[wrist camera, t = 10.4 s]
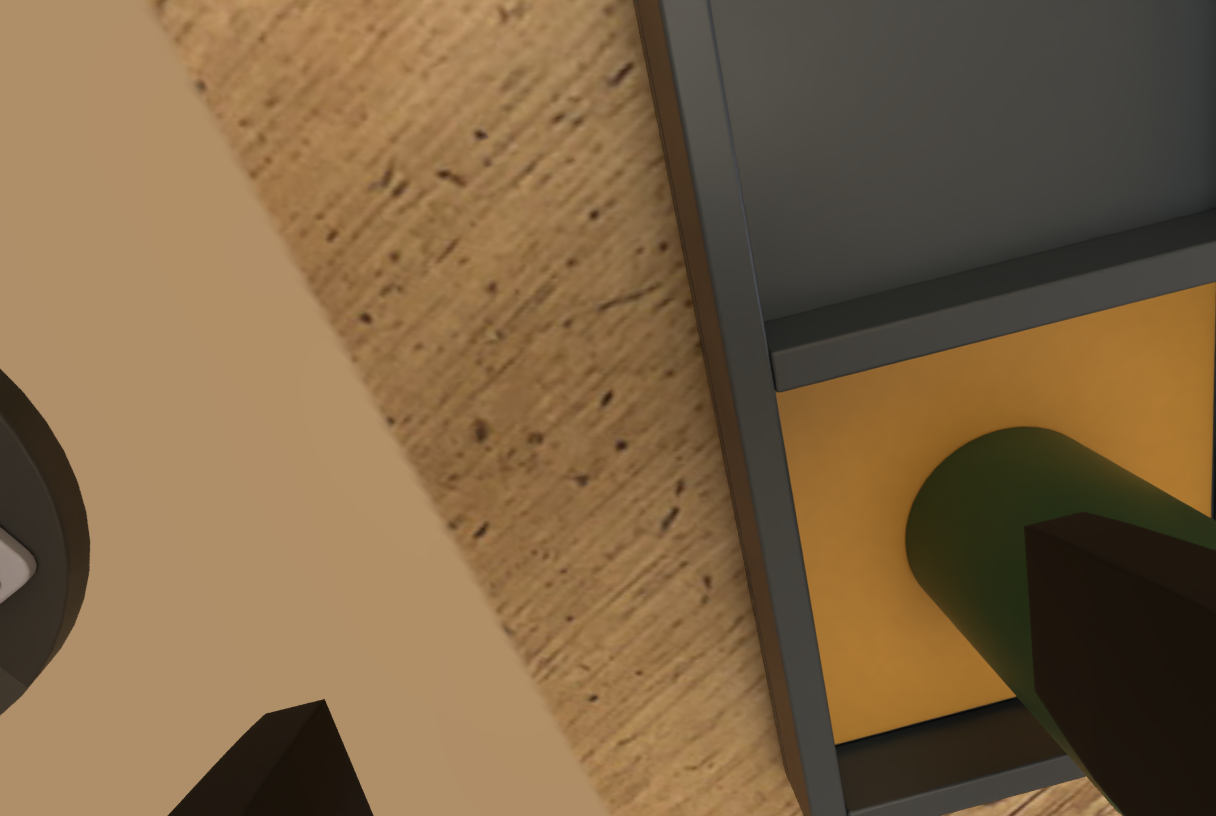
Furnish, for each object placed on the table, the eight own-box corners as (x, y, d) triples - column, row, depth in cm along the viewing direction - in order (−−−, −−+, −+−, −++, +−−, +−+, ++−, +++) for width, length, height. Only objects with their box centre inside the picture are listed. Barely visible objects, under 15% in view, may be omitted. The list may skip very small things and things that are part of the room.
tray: (784, 772, 21) (818, 850, 19) (572, -308, 14) (584, -393, 11) (1227, 654, 21) (1312, 717, 19) (1261, -466, 14) (1407, -579, 12)
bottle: (965, 649, 20) (1341, 1089, 11) (866, 511, 18) (1206, 887, 9) (1136, 535, 19) (1680, 897, 10) (1049, 383, 18) (1595, 652, 9)
